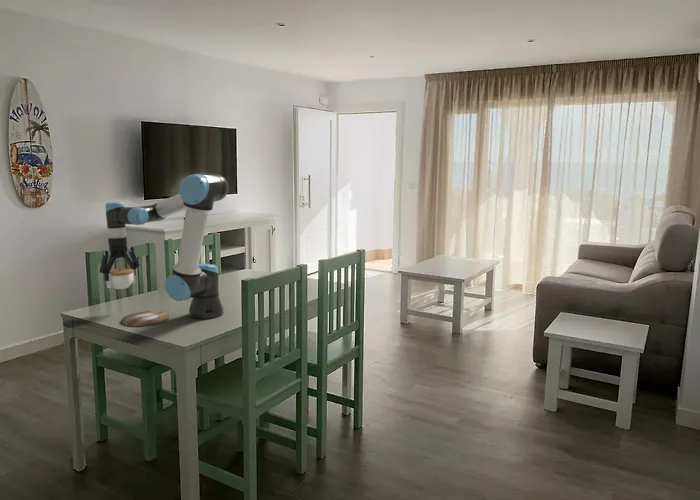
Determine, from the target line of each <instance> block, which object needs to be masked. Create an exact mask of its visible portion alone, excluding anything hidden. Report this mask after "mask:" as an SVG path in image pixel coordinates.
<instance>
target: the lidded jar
mask: <svg viewBox="0 0 700 500" xmlns="http://www.w3.org/2000/svg"><path fill="white" fill-rule="evenodd" d="M109 274H111V281H112V288H113V289H114V290H124V289H129V287H130V286H131V285H132V284H133V283H132V281H133V270H132V269H131V268H122V267H121V266H119V267H118V268H117V269H111V270H110V272H109Z"/></svg>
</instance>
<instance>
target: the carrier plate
mask: <svg viewBox="0 0 700 500" xmlns="http://www.w3.org/2000/svg"><path fill="white" fill-rule="evenodd" d="M169 319H170V315H169V313H168V312H166V311H162V310H161V311H160V310H148V311H144V310H143V311H137V312H134V313H133V312H132V313H129V314H127V315H125V316H124V317H122V319H121V320H122V324H123V323H124V324H123V325H125V324H127V325H133V326H132V327H136V326H140V327H144V326H143V325H151V326H155V324H156V325H159V324H162V323H165V322H167V321H168V320H169ZM127 325H126V326H127ZM134 325H135V326H134Z"/></svg>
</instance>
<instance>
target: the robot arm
mask: <svg viewBox="0 0 700 500" xmlns="http://www.w3.org/2000/svg"><path fill="white" fill-rule="evenodd" d="M229 188H230V187H229V183H228V181H227V179H226V178H225V177H224V176H223V175H222V174H218V173H195V174H190V175H188V176H186V177H184V178H183V180H182V181H181V183H180V185H179V193H178V194H175V195H173V196H170V197H168V198H166V199H162V200H160V201H158V202H155V203H153V204H151V205H150V204H149V205H140V206H130V207H129V206H125V204H124V202H122V201H110V202H106V204H105V216H106V217H105V218H106V219H105V220H106V227H107V237H108V239H107V240H108V248H109V249H108V250H102V259H101V264H100V267H99V273H100V274H103V275H104V281H105V282H106V288H107V289H112V288H113V287H112V281H111V274H109V272H110V270H112V267H113V265H114V264H115V261H116V260H117V259H120V258H122V259H124V261H125V263H126V264H127V265H128V266H129V269H132V270H133V281H132V283H131V284H136V278H135V276H136V275H137V274H136V273H137V272H136V270H137V269H138V268H139V267H140V264H139V261H138V258H137V256H136V254H135V251H134V249H135V248H134V247H133V246H127V245H128V241H127V240H128V239H127V237H126V236H127V229H126V228H127V227H126V225H132V226H133V225H134V226H140V225H141V226H143V225H145V224H147V223H152V222H160V221H164V220H165V219H166V218H167V217H170V216H173V215H175V214H178V213H181V212H183V211H185V215H184V221H183V228H182V233H181V238H180V239H181V241H180V246H179V252H178V257H177V263H176V264H173V266H172V272H171V274H169V275H168V276H167V277H166V278H165V281H164V289H165V292H166V293H167V295H168V297H170V299H172V300H174V301H176V302H182V301H187V300H189V299H191V302H190V305H189V309H188V316H189V317H190V318H193V319H198V320H206V319H215V318H218V317H220V316H222V315H224V311H225V310H224V306H223V304H222V301H221V299H220V294H219V293H220V291H219V289H220V288H219V287H220V286H219V285H220V284H219V273H220V272H219V269H218V266H217V265H216V264H212V263H200V260H201V254H202V250H203V249H202V248H203V242H204V237H205V231H206V226H207V225H206V224H207V220H208V213H210V212H211V211H213V207H214V203H215V202H219V201H222V200H224V199H225V198H226V197H227V195H228V194H229ZM127 252H128V253H127ZM128 254H129V255H128ZM129 256H130V257H129Z"/></svg>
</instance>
